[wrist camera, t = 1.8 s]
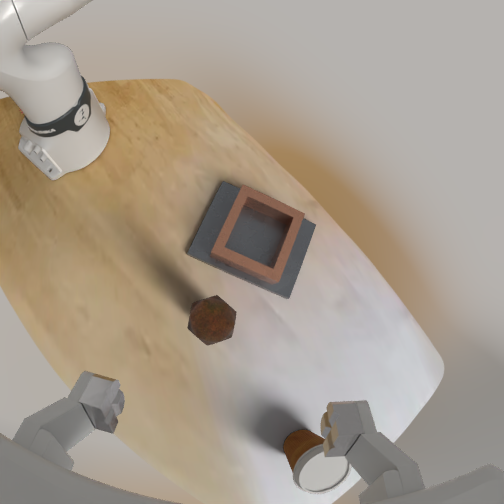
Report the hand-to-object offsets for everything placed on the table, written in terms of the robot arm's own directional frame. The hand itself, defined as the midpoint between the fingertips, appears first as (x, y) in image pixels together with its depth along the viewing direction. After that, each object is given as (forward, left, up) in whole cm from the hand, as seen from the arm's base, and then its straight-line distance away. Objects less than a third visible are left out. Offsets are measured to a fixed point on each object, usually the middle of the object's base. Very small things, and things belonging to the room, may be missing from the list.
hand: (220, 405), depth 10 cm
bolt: (0, +3, -37) cm, 37 cm away
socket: (+2, +18, -37) cm, 41 cm away
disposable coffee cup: (+24, -13, -37) cm, 46 cm away
